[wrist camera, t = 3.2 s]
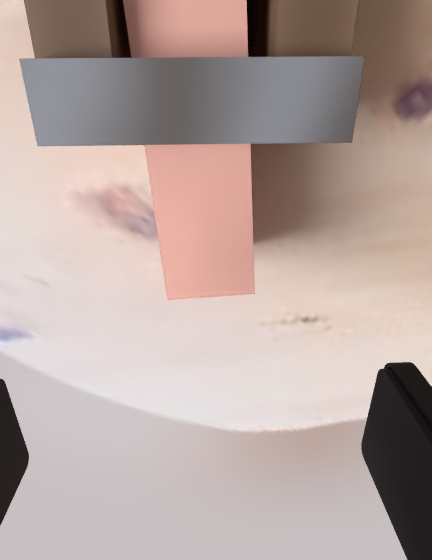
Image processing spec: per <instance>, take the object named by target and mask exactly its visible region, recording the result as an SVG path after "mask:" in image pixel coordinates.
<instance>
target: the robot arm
mask: <svg viewBox="0 0 432 560" xmlns="http://www.w3.org/2000/svg"><path fill="white" fill-rule="evenodd" d="M361 445H362V454H363V457H364V460H365V462H366V464H367V466H368V469H369V471H370V474H371V476H372V478H373V481H374V483H375V485H376V488H377V490H378V492H379V495H380V497H381V499H382V502H383V504H384V506H385V509H386V511H387V513H388V515H389V518H390V520H391V523H392V525H393V527H394V529H395V532H396V534H397V536H398V539H399V541H400V543H401V546H402V548H403V550H404V553H405V555H406V557H407V560H432V387H431V386H430V384H429V383H428V382H427V380H426V379H425V378H424V376H423V375H422V374H421V372H420V371H419V370H418V368H417V367H416V366H415V365H414V364H413V363H411V362H403V363H387V364H386V365H385V367H384V369H380V370H379V371H378V374H377V379H376V383H375V387H374V392H373V396H372V400H371V404H370V409H369V413H368V417H367V422H366V426H365V430H364V435H363V439H362V444H361ZM28 460H29V454H28V451H27V447H26V444H25V441H24V438H23V435H22V432H21V429H20V426H19V423H18V420H17V417H16V414H15V411H14V408H13V405H12V402H11V399H10V396H9V393H8V390H7V387H6V384H5V381H4V380H3V379H0V525H1V523H2V521H3V519H4V516H5V514H6V512H7V510H8V508H9V505H10V503H11V501H12V499H13V497H14V495H15V492H16V490H17V488H18V486H19V484H20V482H21V479H22V477H23V475H24V473H25V470H26V468H27V465H28Z"/></svg>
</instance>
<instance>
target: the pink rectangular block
mask: <svg viewBox="0 0 432 560" xmlns="http://www.w3.org/2000/svg"><path fill="white" fill-rule="evenodd" d="M123 3H124V10H125V17H126V23H127V30H128V37H129V44H130V50H131V57H132V58H178V57H248V34H247V0H123ZM145 152H146V158H147V165H148V172H149V179H150V185H151V192H152V199H153V206H154V212H155V219H156V226H157V233H158V239H159V246H160V253H161V259H162V266H163V273H164V280H165V286H166V293H167V300H176V299H189V298H203V297H217V296H230V295H244V294H255V290H254V254H253V217H252V181H251V144H181V145H145Z"/></svg>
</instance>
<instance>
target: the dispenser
mask: <svg viewBox="0 0 432 560" xmlns="http://www.w3.org/2000/svg"><path fill="white" fill-rule="evenodd" d="M24 3H25V8H26V14H27V19H28V24H29V29H30V34H31V39H32V45H33V50H34V55H35V58H34V59H19V60H20V64H21V69H22V74H23V79H24V83H25V88H26V93H27V98H28V102H29V107H30V112H31V117H32V122H33V126H34V131H35V136H36V141H37V145H38V146H94V145H181V144H269V143H352V138H353V132H354V125H355V118H356V111H357V104H358V98H359V91H360V84H361V77H362V70H363V63H364V57H365V56H351V53H352V45H353V38H354V30H355V23H356V15H357V8H358V0H254V20H253V52H252V57H178V58H132V57H131V50H130V44H129V37H128V30H127V23H126V17H125V10H124V3H123V0H24Z"/></svg>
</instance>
